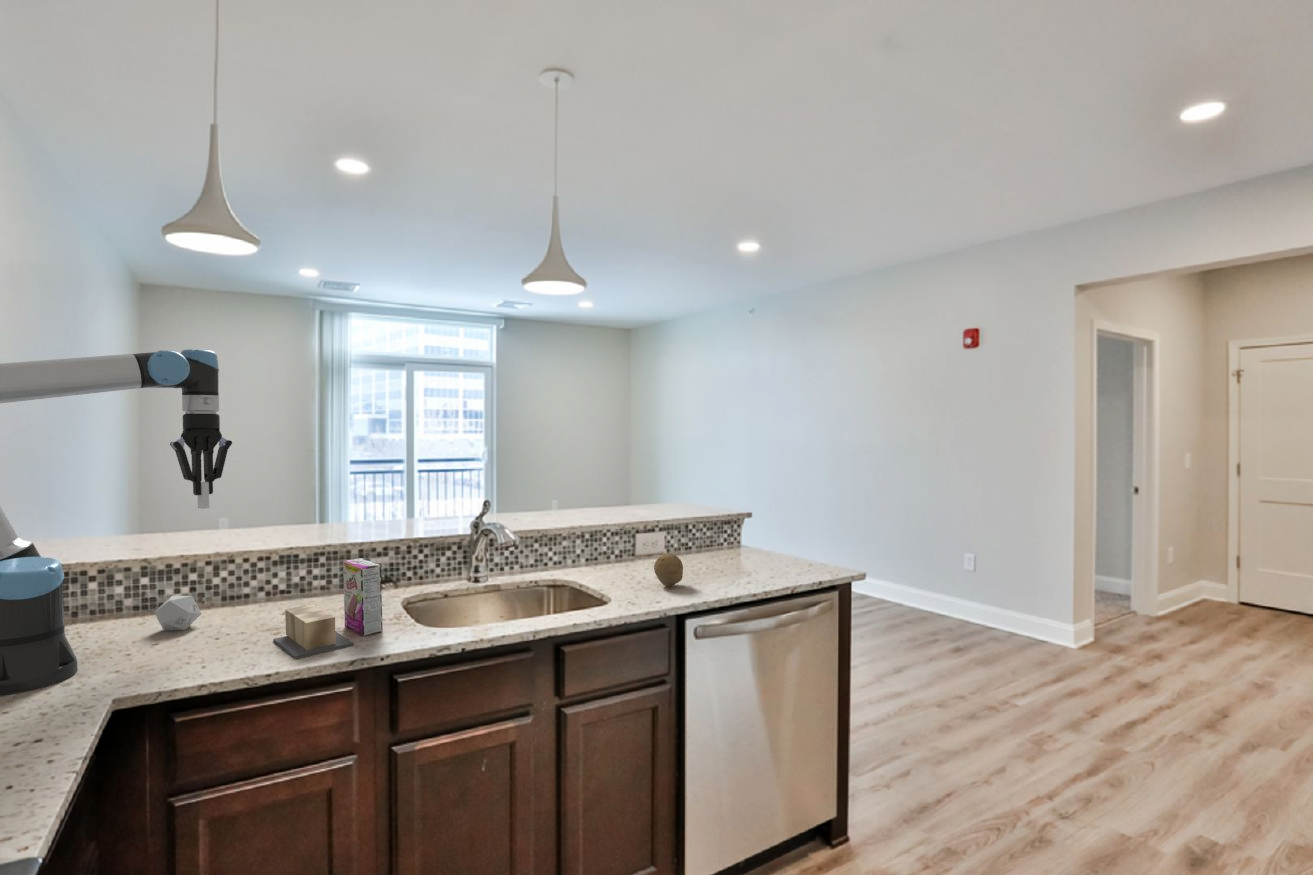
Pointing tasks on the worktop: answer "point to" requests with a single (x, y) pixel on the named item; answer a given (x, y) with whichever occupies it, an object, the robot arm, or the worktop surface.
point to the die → (177, 613)
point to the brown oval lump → (668, 569)
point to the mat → (300, 652)
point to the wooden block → (310, 626)
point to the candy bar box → (362, 596)
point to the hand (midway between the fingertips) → (203, 507)
